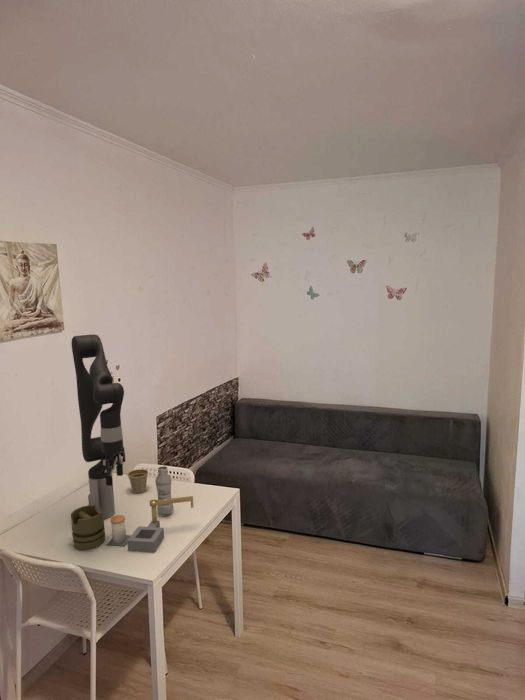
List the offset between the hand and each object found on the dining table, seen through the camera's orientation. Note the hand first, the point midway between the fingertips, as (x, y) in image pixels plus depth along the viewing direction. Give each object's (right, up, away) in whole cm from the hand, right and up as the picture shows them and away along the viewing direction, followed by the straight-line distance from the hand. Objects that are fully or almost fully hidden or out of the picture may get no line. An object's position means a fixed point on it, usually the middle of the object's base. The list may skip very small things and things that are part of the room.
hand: (114, 480), depth 178 cm
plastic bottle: (+14, -21, +24) cm, 34 cm away
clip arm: (+19, -14, +10) cm, 26 cm away
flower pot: (-3, -18, +46) cm, 50 cm away
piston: (-11, -24, +3) cm, 27 cm away
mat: (+1, -24, +4) cm, 24 cm away
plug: (+1, -23, +4) cm, 24 cm away
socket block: (+12, -23, +4) cm, 27 cm away
